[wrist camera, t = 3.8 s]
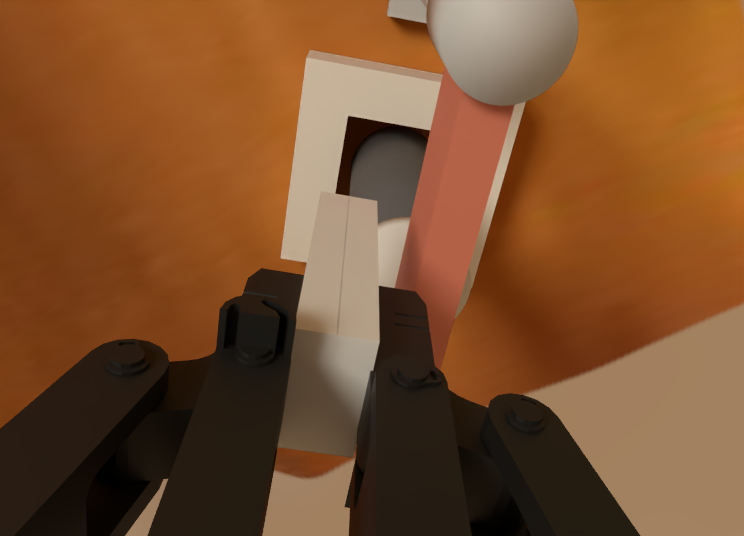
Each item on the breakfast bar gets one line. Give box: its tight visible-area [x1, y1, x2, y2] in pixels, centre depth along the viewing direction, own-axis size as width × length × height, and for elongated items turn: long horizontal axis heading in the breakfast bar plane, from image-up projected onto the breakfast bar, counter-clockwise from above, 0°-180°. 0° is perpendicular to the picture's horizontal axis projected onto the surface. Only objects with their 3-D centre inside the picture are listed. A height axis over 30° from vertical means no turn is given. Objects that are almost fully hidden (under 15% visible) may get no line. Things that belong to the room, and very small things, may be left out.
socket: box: [281, 0, 526, 289], centre depth 26 cm, size 10×16×13 cm, turn 170°
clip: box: [395, 0, 578, 370], centre depth 18 cm, size 3×14×4 cm, turn 170°
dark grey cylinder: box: [349, 126, 471, 319], centre depth 28 cm, size 4×4×12 cm
